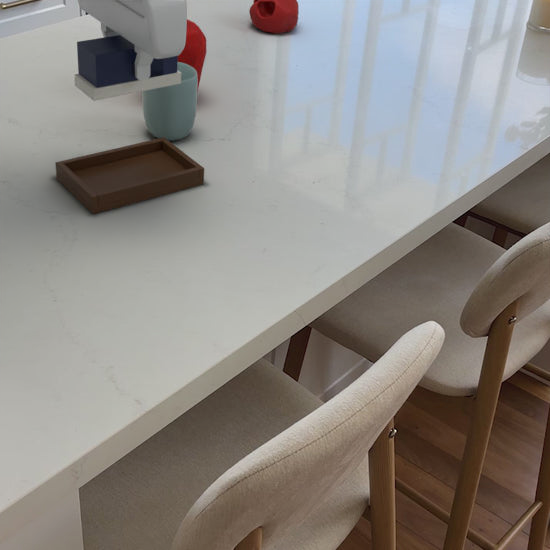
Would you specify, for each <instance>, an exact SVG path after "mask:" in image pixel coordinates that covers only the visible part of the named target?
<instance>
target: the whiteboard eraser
mask: <svg viewBox="0 0 550 550" xmlns="http://www.w3.org/2000/svg"><path fill="white" fill-rule="evenodd" d="M76 50H77V71H78V73H76V74H74V86H75V87H76V88H77V89H78V90H79V91H81V92H82V93H83V94H84V95H86V96H87V97H88V98H90V99H91V101H93V102H96V101H102V100H105V99H111V98H116V97H120V96H125V95H131V94H135V93H140V92H141V93H142V91H146V90H151V89H156V88H161V87H166V86H171V85H176V84H181V72H180V71H178V70H177V68H178V56H174V57H169V58H163V59H155V58H154V59H153V61H152V63H151V64H150V77H149V78H148V79H143V80H139V79H137V78H136V77H135V76H133V75H132V67H131V62H135V60H136V56H137V53H136V52H135V45H134V44H133V43H131V42H130V41H128V40H127V39H125V38H124V37H122V36H121V35H117V36H110V37H104V36H103V37H98V38H94V39H86V40H85V39H84V40H80V41H76Z"/></svg>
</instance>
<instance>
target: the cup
mask: <svg viewBox="0 0 550 550" xmlns="http://www.w3.org/2000/svg"><path fill="white" fill-rule="evenodd" d="M177 70H178V71H180V72H181V84H176V85H171V86H166V87H161V88H156V89H151V90H146V91H141V98H142V112H143V114H142V115H143V120H144V124H145V127H146V129H147V130H148V132H149V133H150V134H151V135H152V136H153V137H155V138H156V139H159V138H163V137H164V138H166V139H167V140H168V141H170V142H171V141H177V140H181V139H184V138H185V137H187V136H188V135H189V134H190V133H191V131H192V130H193V127H194V124H195V121H196V116H197V106H198V92H197V87H198V76H197V71H196V70H195V69H194V68H193V67H191V66H190V65H187V64H185V63H181V62H178V68H177Z"/></svg>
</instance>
